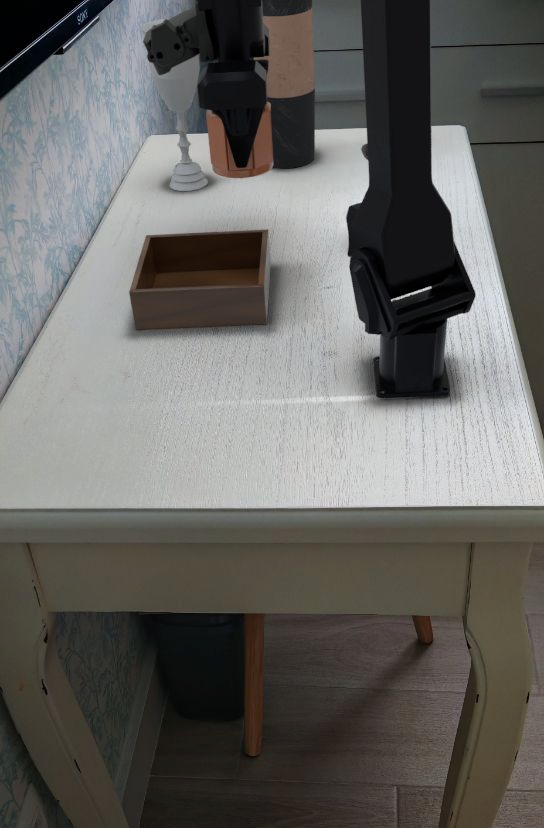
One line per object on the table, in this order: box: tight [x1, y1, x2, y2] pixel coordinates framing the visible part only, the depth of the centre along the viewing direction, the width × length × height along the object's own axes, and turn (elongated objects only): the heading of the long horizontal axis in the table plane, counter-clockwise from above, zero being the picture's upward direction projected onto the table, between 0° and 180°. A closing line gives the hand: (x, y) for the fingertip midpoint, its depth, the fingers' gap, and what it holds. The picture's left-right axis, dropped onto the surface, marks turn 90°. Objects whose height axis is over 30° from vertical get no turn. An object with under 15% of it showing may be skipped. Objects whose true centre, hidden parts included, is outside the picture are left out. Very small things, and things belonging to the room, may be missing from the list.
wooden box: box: [128, 229, 272, 331], centre depth 95 cm, size 13×13×4 cm
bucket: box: [205, 102, 274, 179], centre depth 93 cm, size 6×6×6 cm
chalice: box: [139, 17, 209, 192], centre depth 114 cm, size 7×7×18 cm
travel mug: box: [254, 0, 316, 169], centre depth 117 cm, size 8×8×20 cm
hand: (242, 155), depth 95 cm, fingers closed on bucket, 6 cm apart
